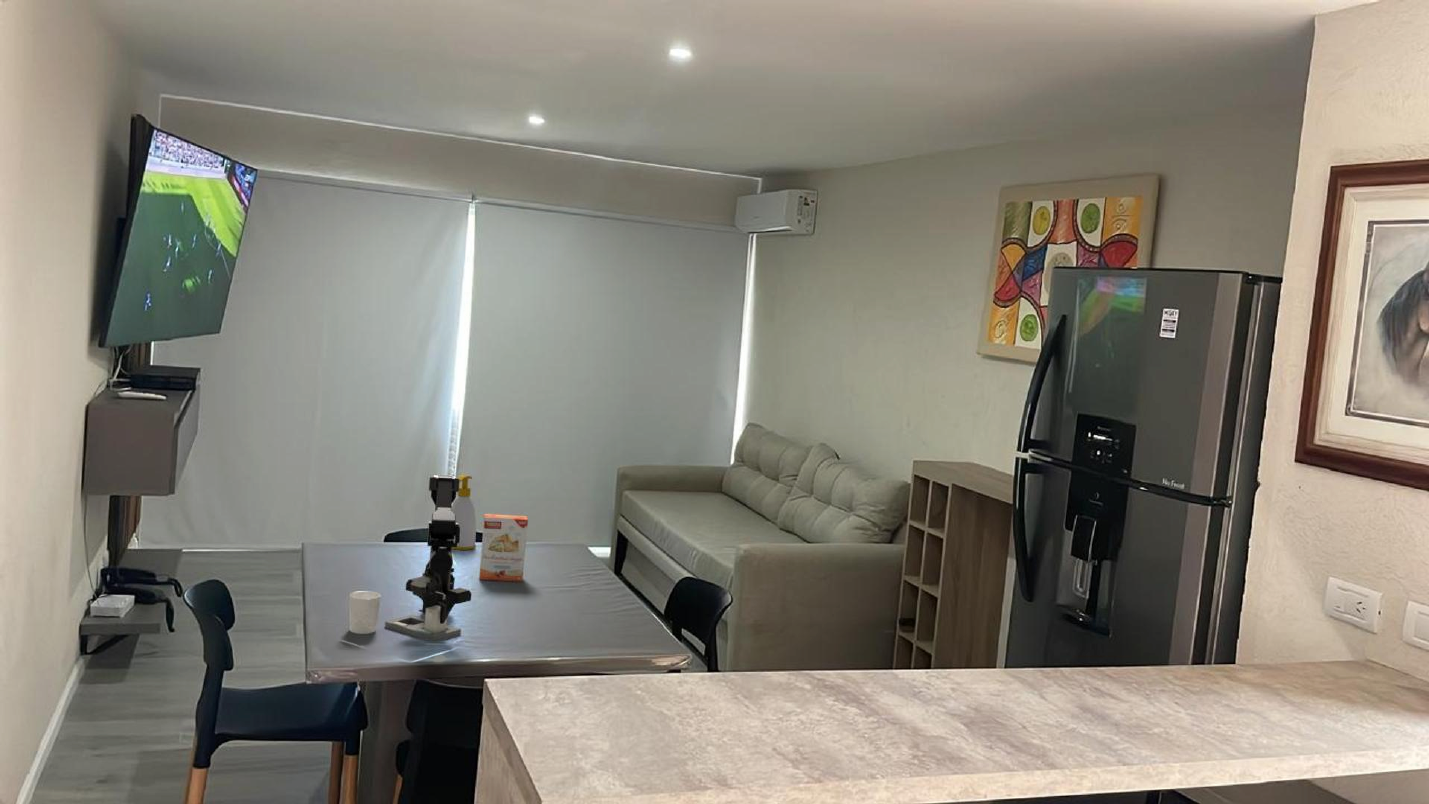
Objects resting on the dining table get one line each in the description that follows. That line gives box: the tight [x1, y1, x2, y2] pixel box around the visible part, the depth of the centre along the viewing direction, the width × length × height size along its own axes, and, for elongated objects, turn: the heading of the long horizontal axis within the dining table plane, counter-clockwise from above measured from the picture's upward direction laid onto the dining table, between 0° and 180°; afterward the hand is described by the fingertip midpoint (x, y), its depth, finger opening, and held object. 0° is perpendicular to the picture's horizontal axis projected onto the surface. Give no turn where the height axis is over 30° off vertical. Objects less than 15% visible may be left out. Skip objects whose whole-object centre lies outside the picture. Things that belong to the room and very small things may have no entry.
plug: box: [424, 605, 448, 633], centre depth 303 cm, size 5×4×6 cm
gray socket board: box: [384, 614, 462, 643], centre depth 306 cm, size 10×18×2 cm, turn 60°
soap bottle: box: [451, 474, 477, 551], centre depth 408 cm, size 11×12×26 cm
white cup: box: [348, 590, 382, 635], centre depth 302 cm, size 8×8×10 cm
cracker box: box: [478, 513, 529, 583], centre depth 369 cm, size 14×6×21 cm, turn 102°
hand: (435, 621), depth 304 cm, fingers closed on plug, 4 cm apart
